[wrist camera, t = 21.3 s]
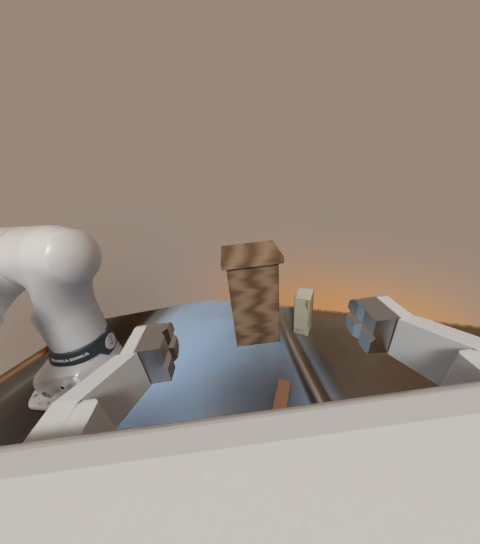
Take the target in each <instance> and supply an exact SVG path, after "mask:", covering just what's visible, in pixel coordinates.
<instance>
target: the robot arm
mask: <svg viewBox="0 0 480 544" xmlns="http://www.w3.org/2000/svg"><path fill="white" fill-rule="evenodd" d="M101 262H102V254H101V250H100V247H99V245H98V243H97V242H96V241H95V240H94V239H93V238H92V237H91V236H90V235H89V234H87V233H85V232H83V231H80V230H76V229H72V228H67V227H63V226H57V225H43V226H23V227H3V228H0V327H1V326H2V324H3V322H4V315H5V313H6V311H7V310H8V308H9V307H10V305H11V304H12V303H13V302H14V300H15V299H16V298H17V297H18V296H19V295H20V294H21V293H22V292H23V291H25V290H27V291H28V293H29V295H30V298H31V300H32V304H33V309H34V311H33V313H32V315H31V323H32V325H33V326H34V327H35V328H36V330H37V332H38V333H39V334H40V336H41V337H42V339H43V340H44V342H45V343H46V344H47V346H46V347H45V348H44V349H43V350H42V351H41V352H40V353H39V354H41V353H42V352H43V354H42V356H41V357H43V356H44V355H45V354H46V353H47V352H48V356H49V358H48V360H47V361H46V362H45V363H44V364H43V366H42V367H41V368H40V369H39V371H38V372H37V374H36V375H35V377H34V380H33V386H34V388H35V391H34V393H33V394H32V396H31V398H30V400H29V404H28V406H29V408H30V409H34V410H46V412H45V413H44V415H43V416H42V417H41V419H40V420H39V421H38V423H37V424H36V426H35V427H34V428H33V430H32V431H31V432H30V434H29V435H28V436H27V438H26V439H25V440H24V442H23V443H20V444H13V445H6V446H0V544H480V337H477V336H474V335H471V334H469V333H466V332H463V331H460V330H457V329H454V328H451V327H448V326H445V325H442V324H439V323H437V322H434V321H431V320H428V319H425V318H422V317H419V316H417V317H414V316H413V315H412V314H411V313H409V312H408V311H407V310H405V309H404V308H403V307H401V306H400V305H399V304H397V303H396V302H394V301H393V300H392V299H391V298H389V297H388V296H385V295H380V296H374V297H370V298H361V299H353V300H350V302H349V305H348V308H349V309H350V312H349V313H348V314H347V317H346V323H347V327H348V329H349V331H350V333H351V334H352V335H353V336H355V337H356V338H358V339H359V341H358V343H359V344H360V346H361V347H362V348H363V349H364V351H365V352H366V353H367V354H368V355H370V354H380V353H388V354H389V355H391V356H392V357H394V358H396V359H397V360H399V361H400V362H402V363H404V364H405V365H407V366H408V367H410V368H412V369H413V370H415V371H417V372H418V373H420V374H421V375H423V376H425V377H426V378H428V379H429V380H431V381H433V382H434V383H436V384H438V385H439V387H432V388H424V389H417V390H410V391H402V392H395V393H388V394H380V395H373V396H366V397H358V398H351V399H344V400H336V401H329V402H322V403H314V404H307V405H300V406H292V407H285V408H278V409H271V410H263V411H256V412H248V413H241V414H234V415H226V416H219V417H211V418H204V419H196V420H189V421H182V422H174V423H167V424H160V425H152V426H145V427H138V428H130V429H123V430H117V429H116V428H117V426H118V425H119V424H120V423H121V421H122V420H123V419H124V418H125V417H126V415H127V414H128V413H129V412H130V410H131V409H132V408H133V407H134V406H135V404H136V403H137V402H138V401H139V400H140V398H141V397H142V396H143V395H144V393H145V392H146V391H147V390H148V389H149V387H150V386H151V384H153V383H160V382H166V381H172V377H173V374H174V370H175V365H174V361H175V360H176V359H177V357H178V353H179V344H178V339H177V337H176V336H175V335H174V334H173V333H174V327H173V324H172V323H171V322H169V323H160V324H150V325H142V326H137V327H135V328H134V330H133V332H132V334H131V335H130V337H129V339H128V341H127V342H126V344H125V346H124V348H123V346H122V345H121V344H120V343H119V342H118V340H117V339H116V336H115V333H114V331H113V329H112V327H111V325H110V323H109V321H108V320H106V319H105V318H104V316H103V313H102V311H101V309H100V307H99V305H98V303H97V300H96V298H95V295H94V289H93V278H94V276H95V275H96V273H97V272H98V270H99V269H100V266H101Z"/></svg>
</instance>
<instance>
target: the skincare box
mask: <svg viewBox="0 0 480 544" xmlns="http://www.w3.org/2000/svg"><path fill="white" fill-rule="evenodd" d="M313 295H314V290H313V289H307V288H301V287H299V288H298V291H297V293H296V296H295V298H294V331H293V332H294V333H297V334H301V335H305V336H308V335H309V332H310V329H311V324H312V311H313Z"/></svg>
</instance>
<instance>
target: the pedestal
mask: <svg viewBox="0 0 480 544" xmlns="http://www.w3.org/2000/svg"><path fill="white" fill-rule="evenodd" d="M280 263H284V256H283V255H282V254H281V252H280V251H279V249H278V248H277V246H276V245H275V244H274V242H273V241H272V240H271V241H262V242H254V243H245V244H237V245H228V246H222V247H221V268H222V270H227V277H228V283H229V291H230V298H231V305H232V312H233V319H234V326H235V333H236V340H237V346H245V345H252V344H260V343H268V342H276V341H280V330H279V270H278V268H279V267H278V264H280Z"/></svg>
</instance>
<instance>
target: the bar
mask: <svg viewBox="0 0 480 544" xmlns="http://www.w3.org/2000/svg"><path fill="white" fill-rule="evenodd" d="M290 386H291V381H288V380H284V379H281V378H279V381H278V385H277V390H276V394H275V399H274V403H273V407H272V409H278V408H285V407H287V405H288V399H289V393H290Z"/></svg>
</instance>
